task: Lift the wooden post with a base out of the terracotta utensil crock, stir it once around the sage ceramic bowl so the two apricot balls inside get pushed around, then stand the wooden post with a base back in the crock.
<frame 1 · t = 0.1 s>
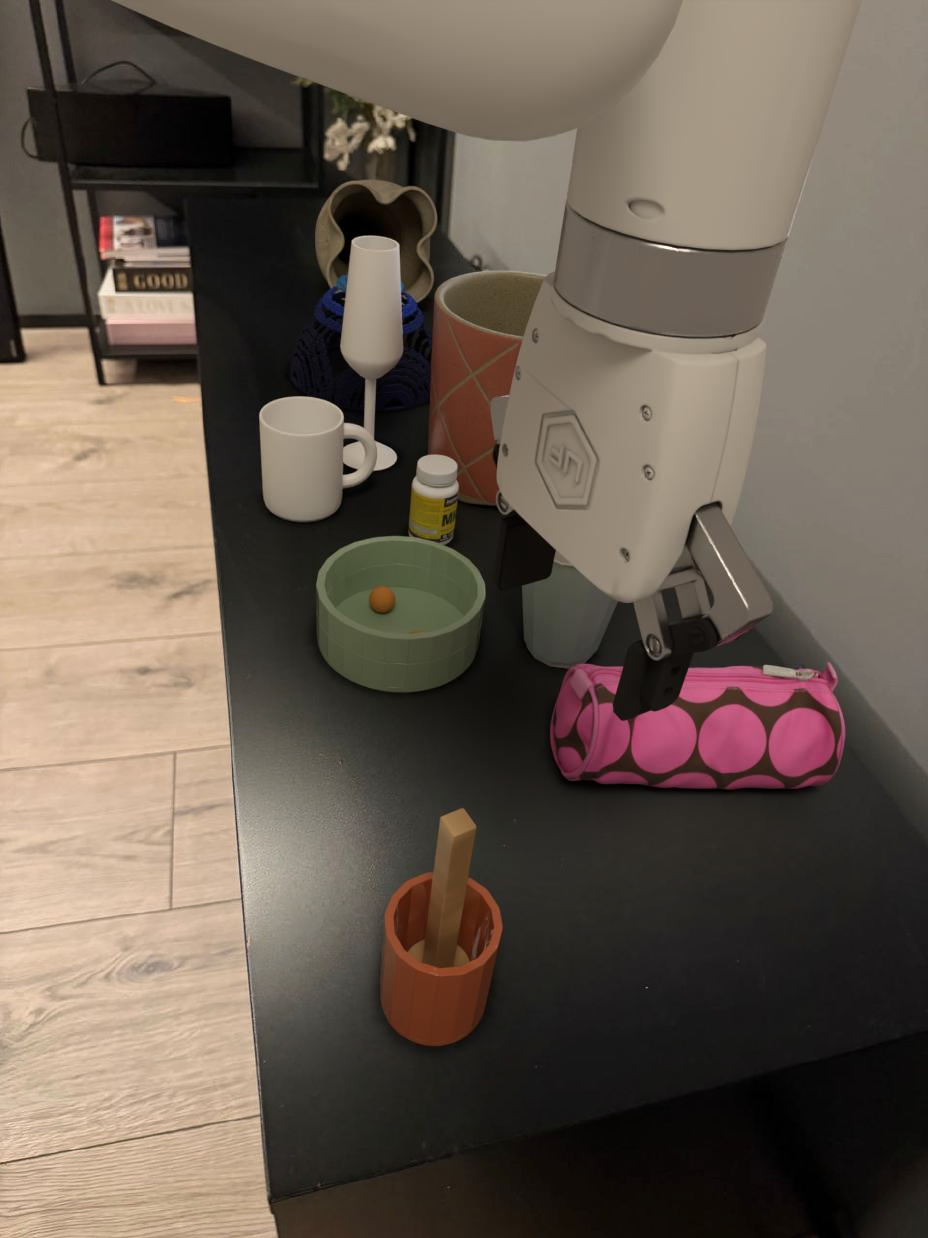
hand: (578, 640, 43), 27 cm above the table, tool pointing down, fingers open, 9 cm apart
ball a: (382, 599, 84), point 2 cm above the table, touching bowl
champagne flute: (368, 457, 107), on the table
ball b: (417, 644, 80), point 2 cm above the table, touching bowl
mug: (320, 503, 99), on the table
planter: (503, 474, 107), on the table
supplement bottle: (430, 536, 96), on the table
crock: (433, 993, 57), on the table
wooden post with base: (433, 989, 57), resting on crock
bowl: (398, 636, 83), on the table
disposable coffee cup: (555, 647, 84), on the table
pencil case: (678, 764, 74), on the table
vase: (366, 289, 148), on the table
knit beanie: (366, 377, 123), on the table
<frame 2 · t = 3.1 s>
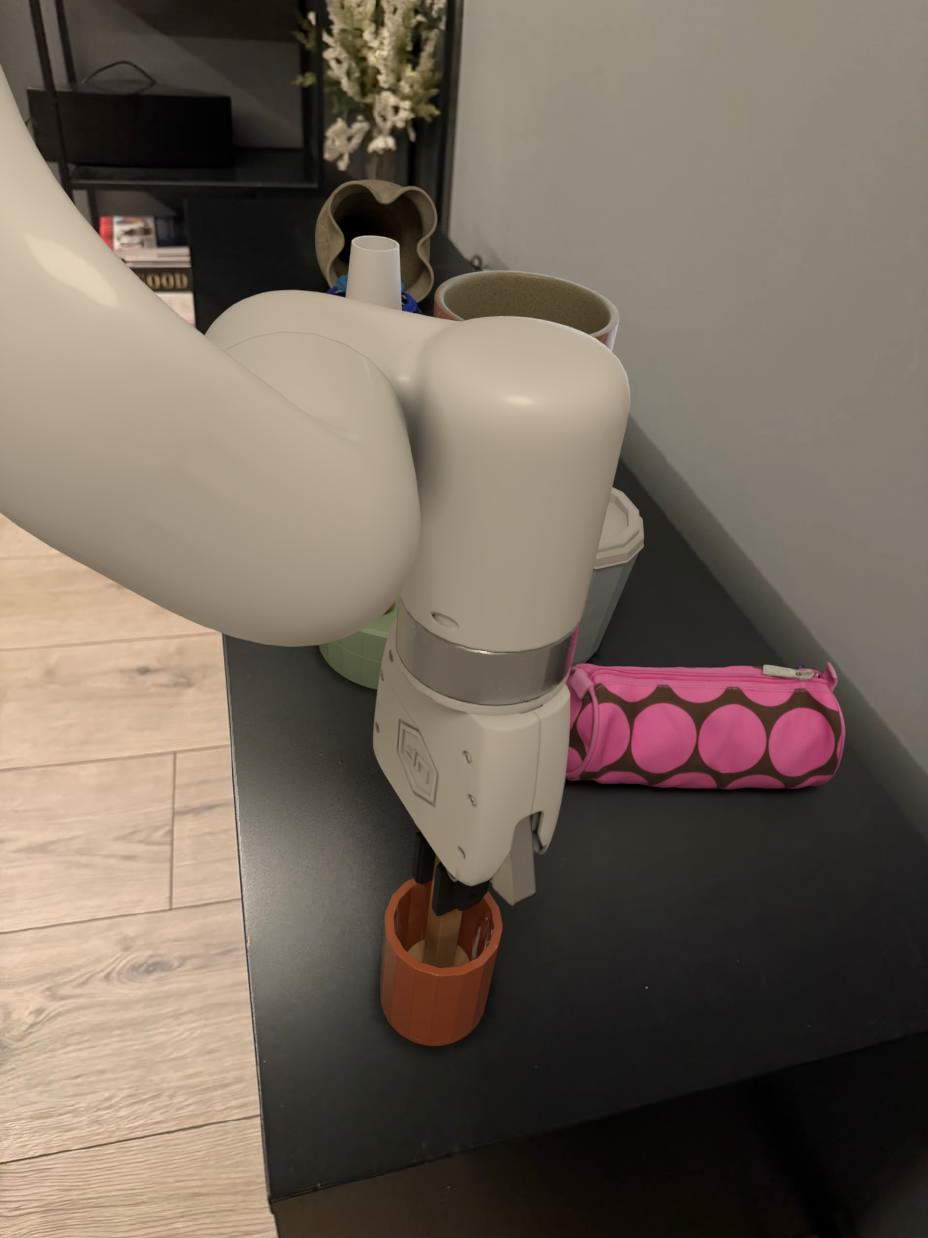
hand: (449, 885, 50), 11 cm above the table, tool pointing down, fingers closed on wooden post with base
wooden post with base: (433, 989, 57), resting on crock, touching gripper
everything else where it was.
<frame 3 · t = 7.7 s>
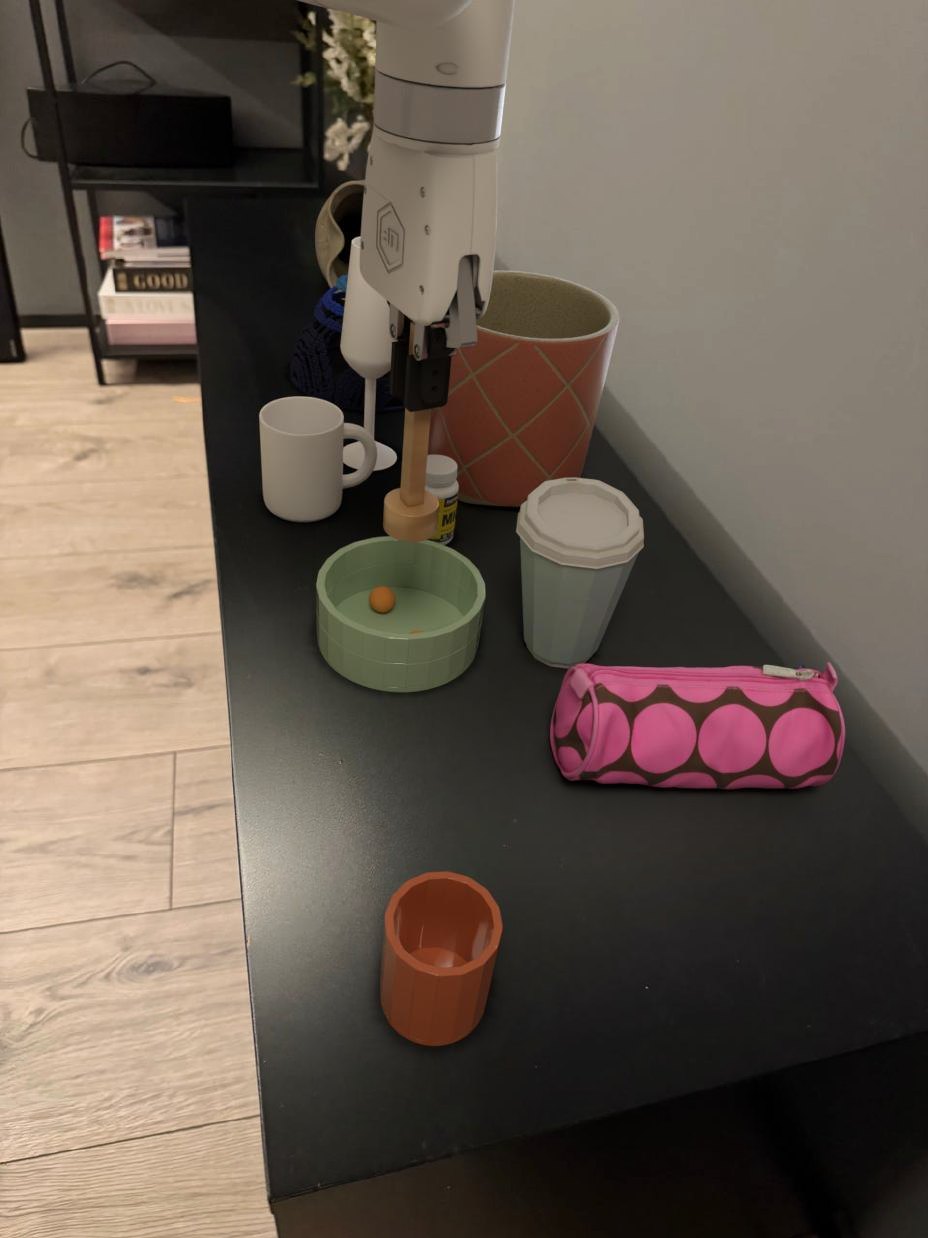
hand: (418, 399, 65), 24 cm above the table, tool pointing down, fingers closed on wooden post with base
wooden post with base: (409, 527, 72), point 14 cm above the table, touching gripper
everything else where it was.
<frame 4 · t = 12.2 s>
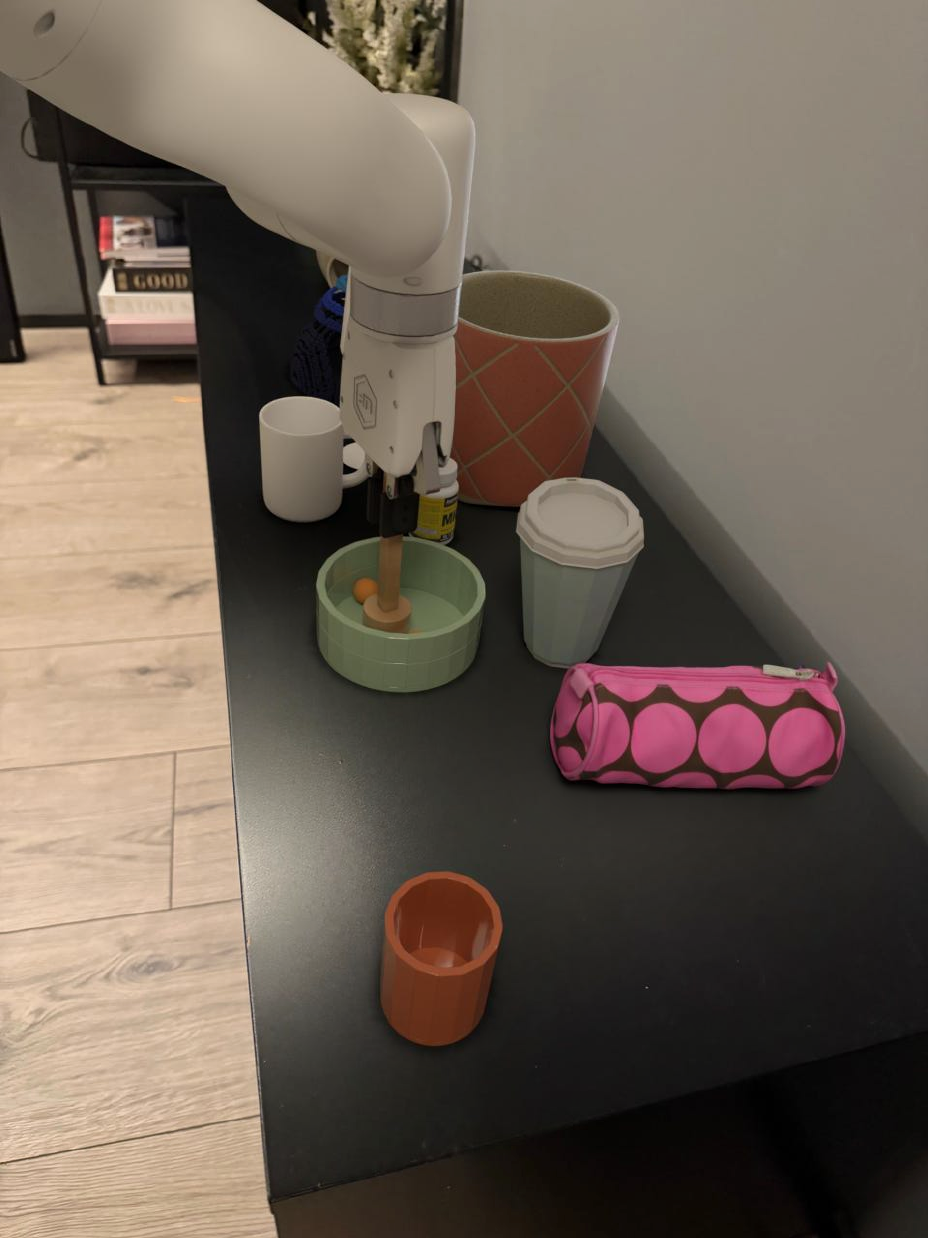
hand: (391, 524, 75), 12 cm above the table, tool pointing down, fingers closed on wooden post with base
ball a: (366, 590, 85), point 2 cm above the table, tilted 88°, touching bowl
wooden post with base: (386, 627, 82), point 1 cm above the table, touching gripper
everything else where it was.
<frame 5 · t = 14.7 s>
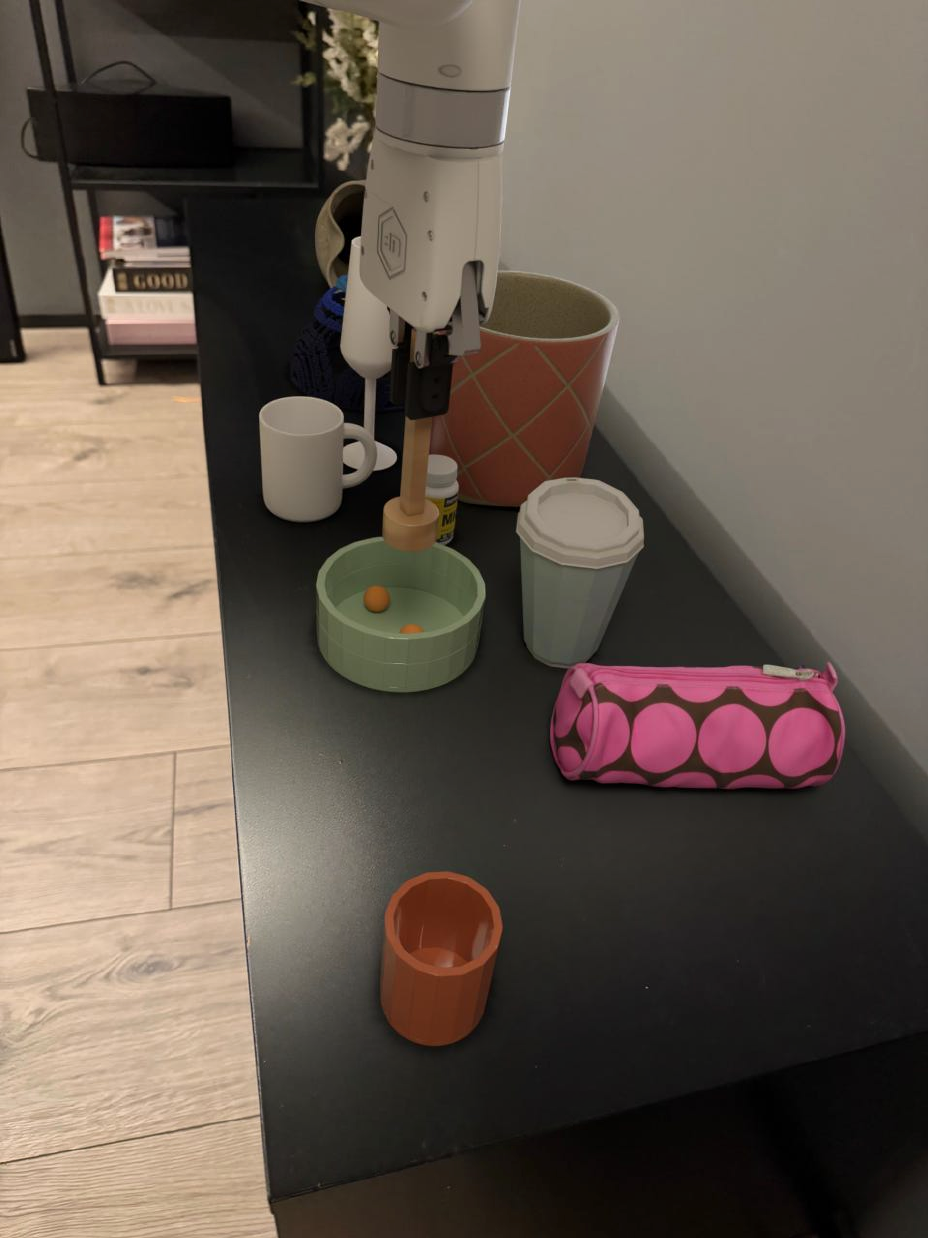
hand: (418, 407, 64), 25 cm above the table, tool pointing down, fingers closed on wooden post with base
ball a: (376, 598, 84), point 2 cm above the table, tilted 21°, touching bowl
ball b: (411, 637, 80), point 2 cm above the table, tilted 46°, touching bowl
wooden post with base: (409, 536, 71), point 14 cm above the table, touching gripper
everything else where it was.
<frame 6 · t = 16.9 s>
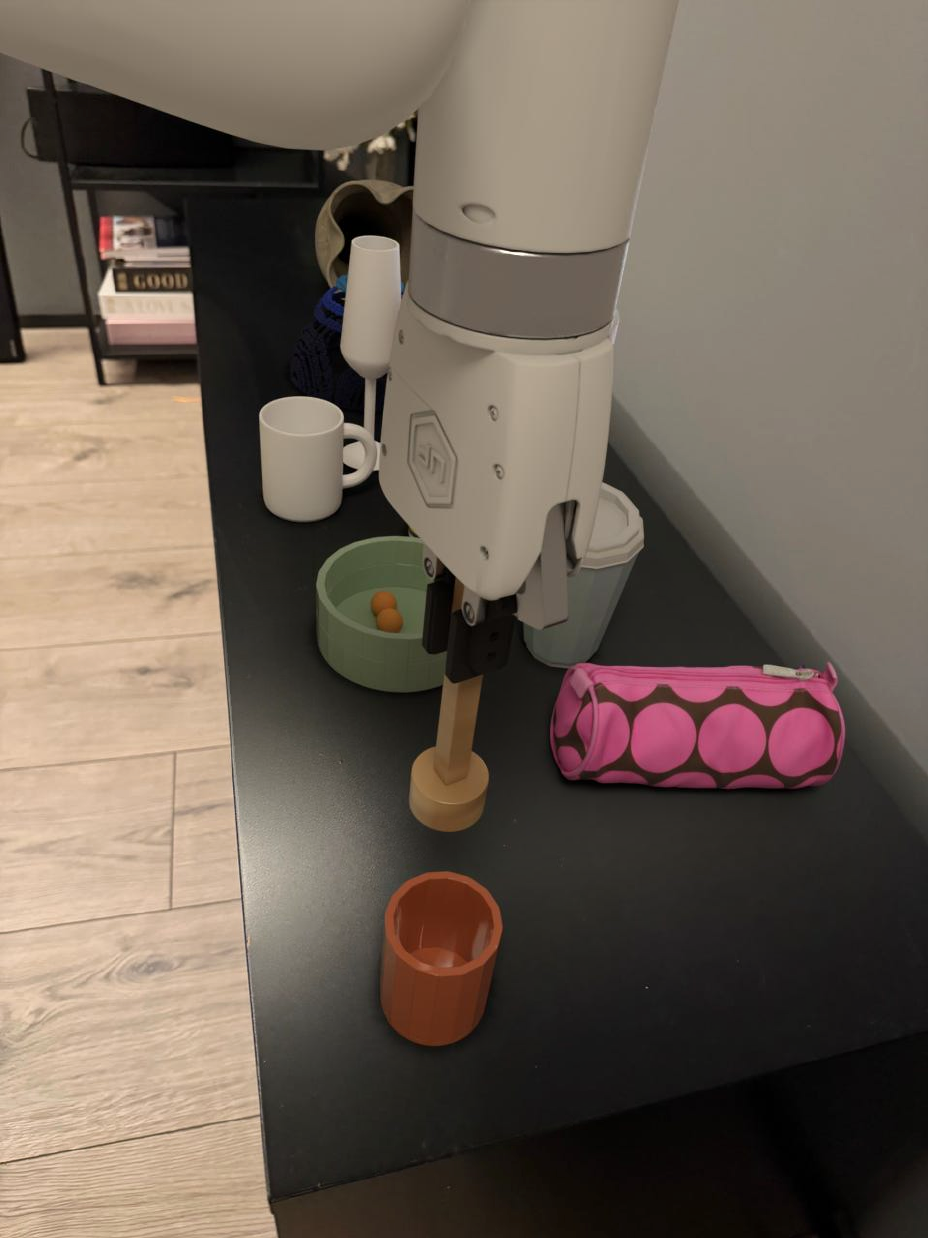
hand: (464, 656, 44), 25 cm above the table, tool pointing down, fingers closed on wooden post with base
ball a: (383, 604, 83), point 2 cm above the table, tilted 31°, touching bowl
ball b: (389, 621, 81), point 2 cm above the table, tilted 169°, touching bowl
wooden post with base: (446, 801, 51), point 14 cm above the table, touching gripper
everything else where it was.
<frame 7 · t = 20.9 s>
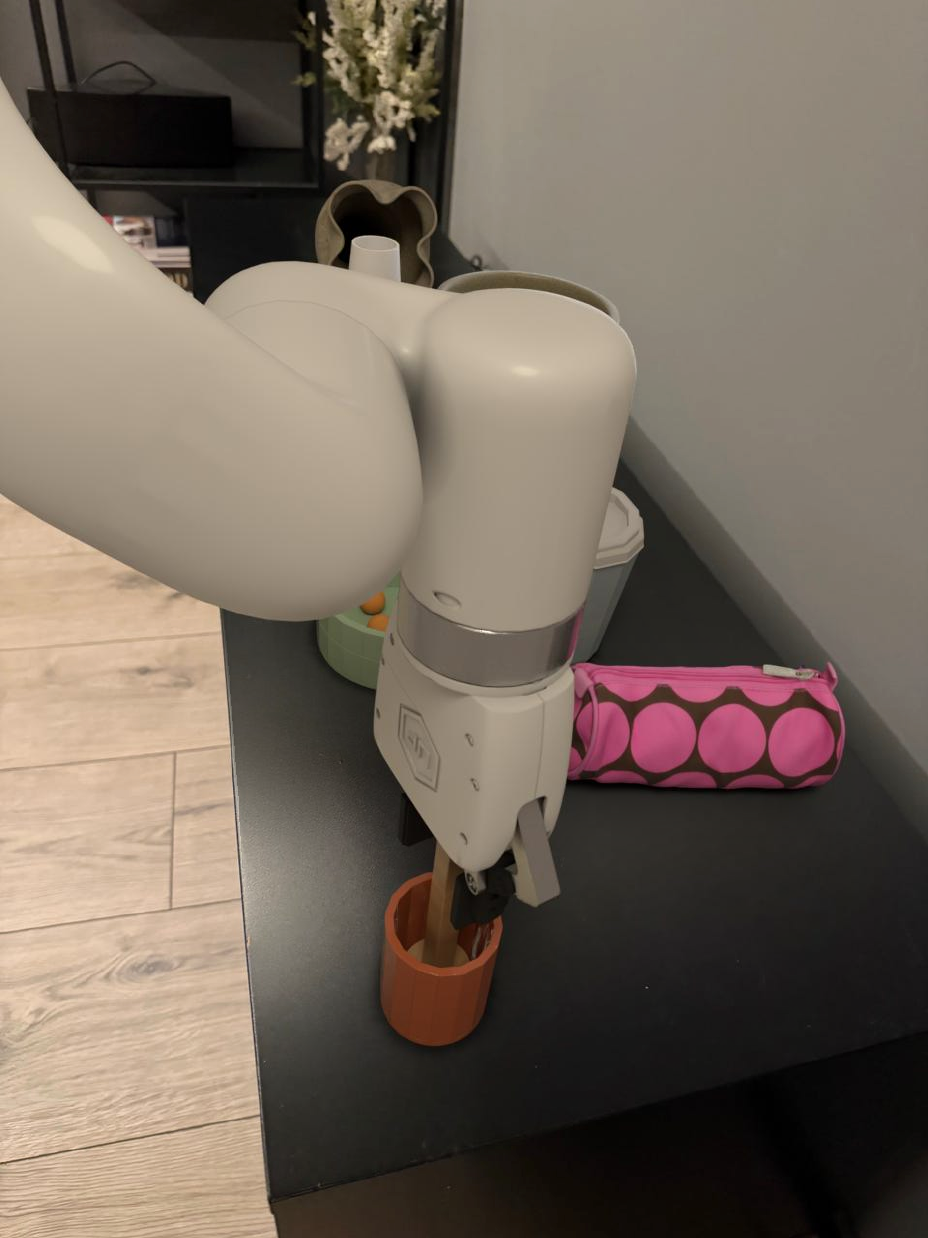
hand: (451, 871, 49), 13 cm above the table, tool pointing down, fingers open, 4 cm apart
ball a: (372, 600, 84), point 2 cm above the table, tilted 37°, touching bowl
ball b: (380, 627, 81), point 2 cm above the table, tilted 113°, touching bowl
wooden post with base: (433, 988, 57), point 1 cm above the table, touching crock
everything else where it was.
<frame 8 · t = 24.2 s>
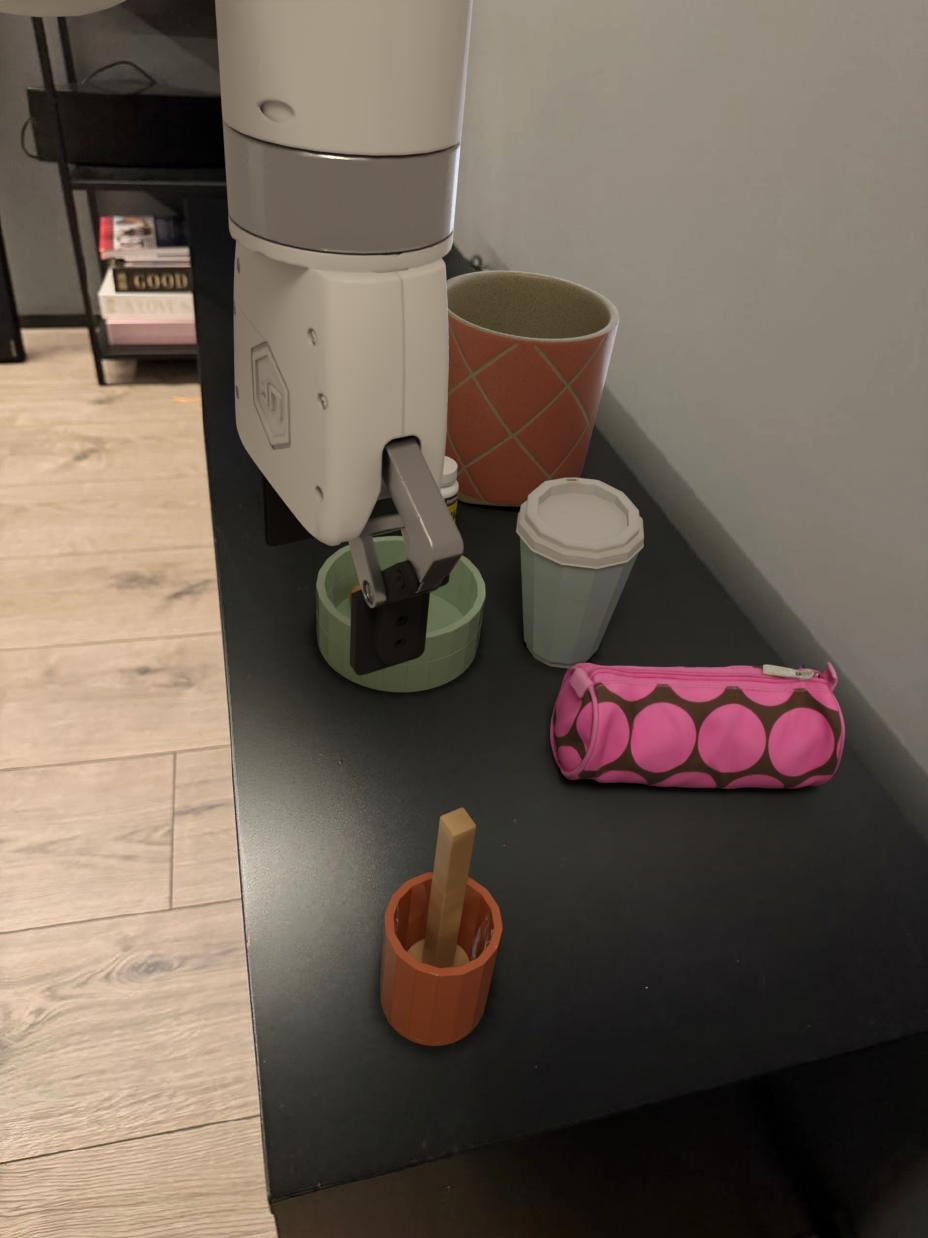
hand: (338, 595, 41), 28 cm above the table, tool pointing down, fingers open, 9 cm apart
ball a: (362, 597, 84), point 2 cm above the table, tilted 78°, touching bowl
ball b: (373, 633, 80), point 2 cm above the table, tilted 67°, touching bowl
everything else where it was.
at the end: wooden post with base 0.0 cm off-centre in the crock, point 0.5 cm above the crock's base; wooden post with base tilted 0°; ball a moved 1.8 cm from its start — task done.
